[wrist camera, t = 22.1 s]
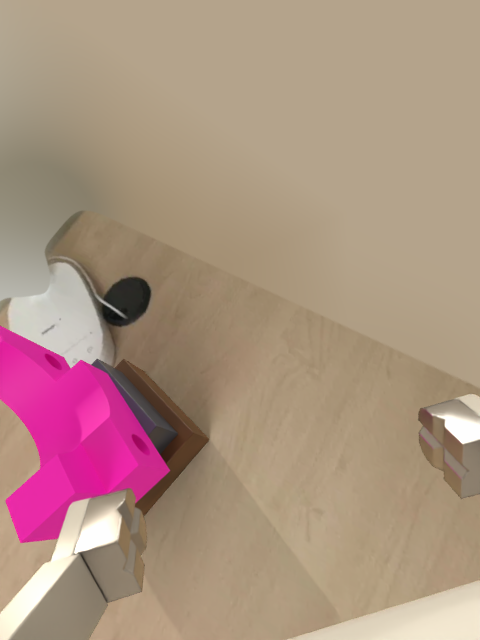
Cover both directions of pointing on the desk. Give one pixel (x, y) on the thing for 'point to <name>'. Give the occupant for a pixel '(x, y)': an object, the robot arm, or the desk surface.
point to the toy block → (70, 436)
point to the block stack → (157, 424)
